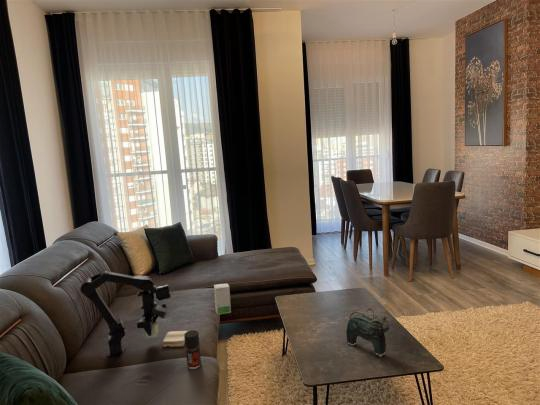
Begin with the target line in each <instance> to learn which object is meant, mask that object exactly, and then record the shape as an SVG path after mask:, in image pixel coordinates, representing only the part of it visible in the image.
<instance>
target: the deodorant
mask: <svg viewBox="0 0 540 405" xmlns="http://www.w3.org/2000/svg"><path fill="white" fill-rule="evenodd" d="M187 331H188V332H186V333H185V334H184V337H185V344H184V346H185V347H184V348H185V355H186V366H187V365H188V366H189V367H196V366H199V365H200V364H201V365H202V359H201V358H202V357H201V356H202V355H201V347H200V338H199V336H200V335H199V330H193V329H192V330H187Z"/></svg>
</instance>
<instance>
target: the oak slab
mask: <svg viewBox="0 0 540 405" xmlns="http://www.w3.org/2000/svg"><path fill="white" fill-rule="evenodd" d="M188 331H189V330H175V331H173V330H172V331H168V332H166V335H165V337H164V339H163V341H162V347H163V346H164V347H165V348H166V346H170V347H184V346H185V337H184V334H185V333H186V332H188ZM164 347H163V348H164Z"/></svg>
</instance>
